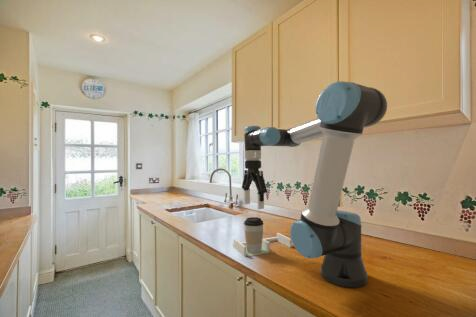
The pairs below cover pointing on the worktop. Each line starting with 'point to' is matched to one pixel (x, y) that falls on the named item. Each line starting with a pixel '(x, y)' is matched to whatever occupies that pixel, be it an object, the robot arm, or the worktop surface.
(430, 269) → the worktop surface
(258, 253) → the pad
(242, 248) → the e-shaped divided frame
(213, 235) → the worktop surface
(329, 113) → the robot arm
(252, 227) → the coffee cup
